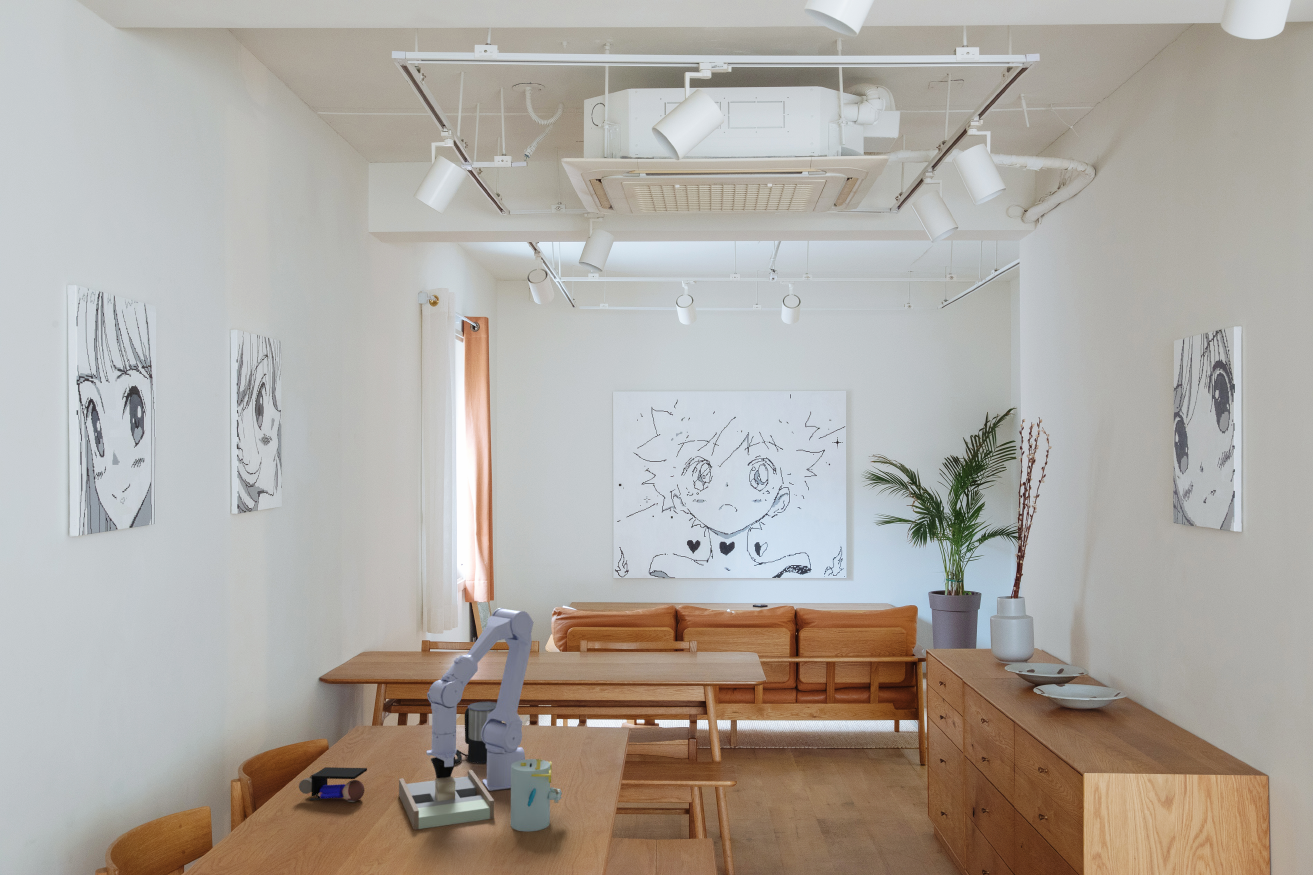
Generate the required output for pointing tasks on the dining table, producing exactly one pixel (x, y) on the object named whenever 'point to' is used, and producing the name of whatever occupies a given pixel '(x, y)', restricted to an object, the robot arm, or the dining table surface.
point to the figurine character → (323, 791)
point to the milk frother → (476, 732)
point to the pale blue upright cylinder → (531, 794)
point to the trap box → (446, 803)
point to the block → (445, 788)
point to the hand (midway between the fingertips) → (443, 788)
